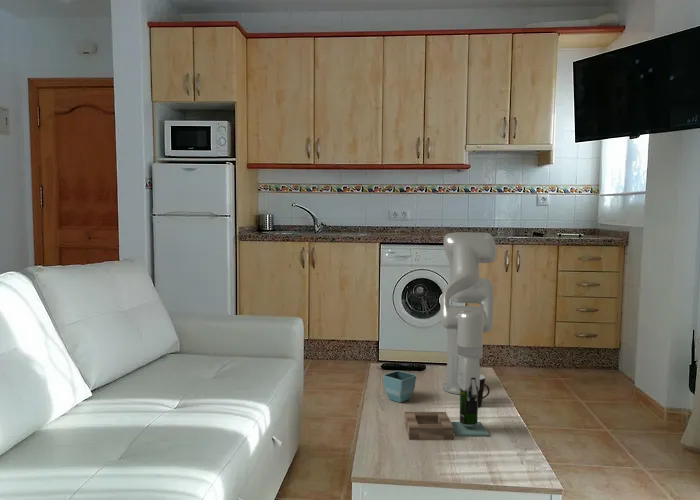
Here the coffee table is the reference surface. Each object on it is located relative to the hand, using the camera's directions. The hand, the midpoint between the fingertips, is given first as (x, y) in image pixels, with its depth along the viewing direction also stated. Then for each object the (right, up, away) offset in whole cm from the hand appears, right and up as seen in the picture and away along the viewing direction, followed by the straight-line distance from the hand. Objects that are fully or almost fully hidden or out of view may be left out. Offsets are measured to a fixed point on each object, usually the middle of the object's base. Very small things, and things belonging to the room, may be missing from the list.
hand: (468, 409), depth 162 cm
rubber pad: (0, -6, 0) cm, 6 cm away
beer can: (0, -5, 0) cm, 5 cm away
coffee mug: (+6, -5, +21) cm, 23 cm away
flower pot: (-19, -5, +27) cm, 33 cm away
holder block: (-13, -6, -1) cm, 14 cm away
